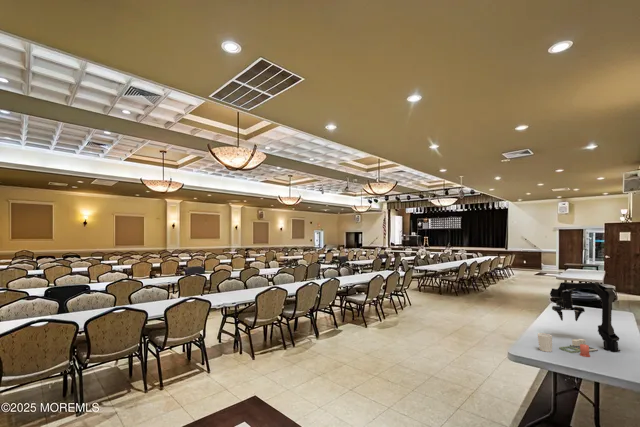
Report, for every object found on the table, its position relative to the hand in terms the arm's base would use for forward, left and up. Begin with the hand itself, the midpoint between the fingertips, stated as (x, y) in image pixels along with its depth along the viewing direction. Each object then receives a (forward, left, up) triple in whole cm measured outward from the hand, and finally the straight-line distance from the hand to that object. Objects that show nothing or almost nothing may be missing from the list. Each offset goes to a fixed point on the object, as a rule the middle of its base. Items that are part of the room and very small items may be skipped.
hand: (569, 320), depth 232 cm
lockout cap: (-27, +24, -14) cm, 38 cm away
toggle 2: (-15, +9, -12) cm, 21 cm away
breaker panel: (-18, +12, -13) cm, 25 cm away
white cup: (-13, +39, -14) cm, 43 cm away
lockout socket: (-18, +22, -13) cm, 32 cm away
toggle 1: (-15, +14, -12) cm, 24 cm away
